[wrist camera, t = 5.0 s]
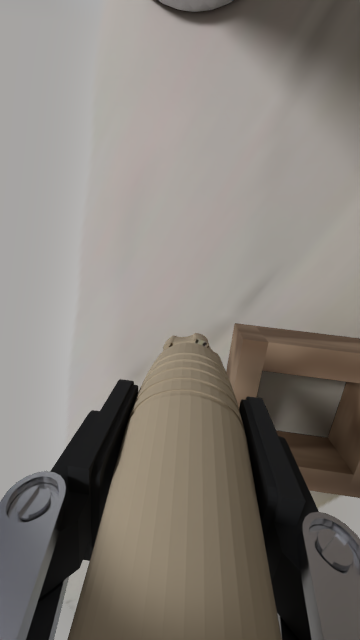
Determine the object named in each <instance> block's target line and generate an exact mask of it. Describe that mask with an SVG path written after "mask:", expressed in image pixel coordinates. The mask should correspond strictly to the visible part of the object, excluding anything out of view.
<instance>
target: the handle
mask: <svg viewBox="0 0 360 640" xmlns="http://www.w3.org/2000/svg"><path fill="white" fill-rule="evenodd" d="M163 349H164V350H163V352H162V353H161V354H160V355H159V357H158V358H157V359H156V361H155V362H154V363H153V365H152V367H151V368H150V370H149V372H148V374H147V376H146V378H145V380H144V382H143V384H142V386H141V388H140V390H139V392H138V395H137V397H136V400H135V403H134V406H133V408H132V411H131V414H130V417H129V420H128V423H127V426H126V429H125V432H124V436H123V440H122V443H121V447H120V451H119V455H118V458H117V462H116V466H115V469H114V473H113V477H112V481H111V484H110V488H109V492H108V496H107V499H106V503H105V507H104V510H103V514H102V518H101V522H100V525H99V529H98V533H97V536H96V540H95V544H94V548H93V551H92V555H91V559H90V562H89V566H88V569H87V573H86V577H85V580H84V584H83V587H82V591H81V594H80V598H79V601H78V605H77V608H76V612H75V615H74V619H73V622H72V626H71V629H70V633H69V637H68V640H282V636H281V631H280V626H279V620H278V615H277V610H276V604H275V599H274V593H273V588H272V583H271V577H270V571H269V565H268V560H267V554H266V548H265V542H264V536H263V531H262V525H261V519H260V513H259V507H258V502H257V496H256V490H255V484H254V478H253V473H252V467H251V461H250V455H249V449H248V444H247V438H246V435H245V430H244V426H243V422H242V418H241V414H240V410H239V407H238V403H237V400H236V397H235V394H234V391H233V388H232V385H231V383H230V380H229V378H228V375H227V373H226V371H225V369H224V367H223V364H222V362H221V359H220V357H219V356H218V354H217V353H215V352H213V351H212V350H211V348H210V347H209V343H208V340H207V338H206V337H205V336H203V335H201V334H198V333H195V334H193V335H191V336H188V337H177V336H172V337H170V338H169V339H168V340H167V341H166V342H165V344H164V347H163Z"/></svg>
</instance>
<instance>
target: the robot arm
mask: <svg viewBox="0 0 360 640" xmlns="http://www.w3.org/2000/svg"><path fill="white" fill-rule="evenodd" d="M159 1H160V2H161V3H163V4H165V5H168V6H170V7H173V8H176V9H178V10H185V11H193V12H198V11H206V10H213V9H215V8H218V7H221V6H223V5H226V4H229V3H230V2H232V1H233V0H159ZM137 395H138V385H134V382H133V381H129V380H121V379H120V380H119V381H118V382H117V384H116V386H115V387H114V389H113V391H112V392H111V394H110V396H109V397H108V399H107V401H106V402H105V404H104V406H103V407H102V409H101V411H94V410H92V411H91V412H90V413H89V414H88V415H87V417H86V418H85V420H84V421H83V423H82V424H81V426H80V428H79V429H78V431H77V432H76V434H75V435H74V437H73V438H72V440H71V441H70V443H69V444H68V446H67V447H66V449H65V450H64V452H63V453H62V455H61V456H60V458H59V459H58V461H57V462H56V464H55V465H54V467H53V468H52V470H51V471H50V472H48V471H44V472H38V473H34V474H32V475H29V476H27V477H25V478H23V479H22V480H20V481H18V482H17V483H16V484H15V485H14V486H12V487H11V488H10V489H9V490H8V491H7V493H6V494H5V495H4V497H3V499H2V500H1V502H0V640H54V636H55V633H56V629H57V624H58V620H59V616H60V612H61V608H62V604H63V600H64V595H65V591H66V587H67V583H68V579H69V576H70V575H71V574H73V573H74V572H75V571H76V570H78V569H79V568H80V566H81V563H82V560H88V561H90V559H91V555H92V551H93V548H94V544H95V540H96V536H97V533H98V529H99V525H100V522H101V518H102V514H103V510H104V507H105V503H106V499H107V496H108V492H109V488H110V484H111V481H112V477H113V473H114V469H115V466H116V462H117V458H118V455H119V451H120V447H121V443H122V440H123V436H124V432H125V429H126V426H127V423H128V420H129V417H130V414H131V411H132V408H133V406H134V403H135V400H136V397H137ZM239 410H240V414H241V418H242V422H243V426H244V430H245V435H246V438H247V444H248V449H249V455H250V461H251V467H252V473H253V478H254V484H255V490H256V496H257V502H258V507H259V513H260V519H261V525H262V531H263V536H264V542H265V548H266V554H267V560H268V565H269V571H270V577H271V583H272V588H273V593H274V599H275V604H276V610H277V615H278V620H279V626H280V631H281V636H282V640H360V539H359V537H358V536H357V535H356V534H355V533H354V532H353V531H352V530H351V529H350V528H349V527H348V526H347V525H346V524H344V523H343V522H341V521H340V520H339V519H337V518H335V517H333V516H331V515H329V514H326V513H321V512H319V511H318V509H317V507H316V505H315V502H314V500H313V498H312V496H311V494H310V491H309V489H308V487H307V485H306V483H305V480H304V478H303V476H302V474H301V472H300V469H299V467H298V465H297V463H296V461H295V458H294V456H293V454H292V452H291V450H290V447H289V445H288V443H287V441H286V439H285V438H284V437H281V436H278V435H277V432H276V430H275V428H274V425H273V423H272V420H271V418H270V416H269V413H268V411H267V409H266V406H265V404H264V401H263V399H262V398H257V397H249V396H247V397H246V399H245V400H243V399H242V400H241V402H240V406H239Z"/></svg>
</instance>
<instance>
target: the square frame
mask: <svg viewBox="0 0 360 640" xmlns="http://www.w3.org/2000/svg"><path fill="white" fill-rule="evenodd" d="M262 371H268V372H276V373H284V374H292V375H299V376H307V377H315V378H322V379H330V380H338V381H346V385H345V388H344V391H343V394H342V397H341V400H340V403H339V406H338V409H337V412H336V415H335V418H334V421H333V424H332V427H331V430H330V433H329V436H328V438H325V437H318V436H311V435H304V434H296V433H289V432H282V431H276V432H277V435H278V436H281V437H284V438H285V439H286V441H287V443H288V445H289V447H290V450H291V452H292V454H293V456H294V458H295V461H296V463H297V465H298V467H299V469H300V472H301V474H302V476H303V478H304V480H305V483H306V485H307V487H308V489H309V490H311V491H317V492H324V493H331V494H338V495H344V496H351V497H358V498H360V339H359V338H351V337H343V336H334V335H326V334H318V333H310V332H301V331H293V330H285V329H277V328H268V327H260V326H252V325H244V324H236V323H235V325H234V331H233V337H232V342H231V348H230V354H229V360H228V365H227V371H226V373H227V375H228V378H229V380H230V383H231V385H232V388H233V391H234V394H235V397H236V400H237V403H238V407H239V406H240V402H241V400H242V399H243V400H245V399H246V397H247V396H249V397H257V393H258V388H259V384H260V379H261V374H262Z"/></svg>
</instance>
